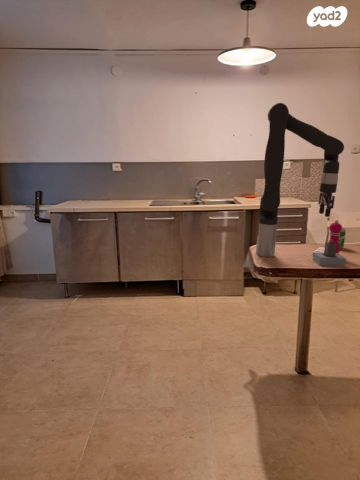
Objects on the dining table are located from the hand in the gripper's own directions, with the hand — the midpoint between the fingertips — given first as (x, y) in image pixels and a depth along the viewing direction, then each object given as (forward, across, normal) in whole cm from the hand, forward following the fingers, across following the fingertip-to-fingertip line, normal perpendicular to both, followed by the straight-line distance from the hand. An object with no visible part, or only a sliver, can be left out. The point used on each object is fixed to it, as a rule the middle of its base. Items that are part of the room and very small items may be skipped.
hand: (324, 215), depth 158 cm
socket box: (+23, +8, +3) cm, 24 cm away
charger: (+23, +8, +3) cm, 24 cm away
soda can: (+23, -23, +18) cm, 37 cm away
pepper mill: (+23, -3, +8) cm, 24 cm away
